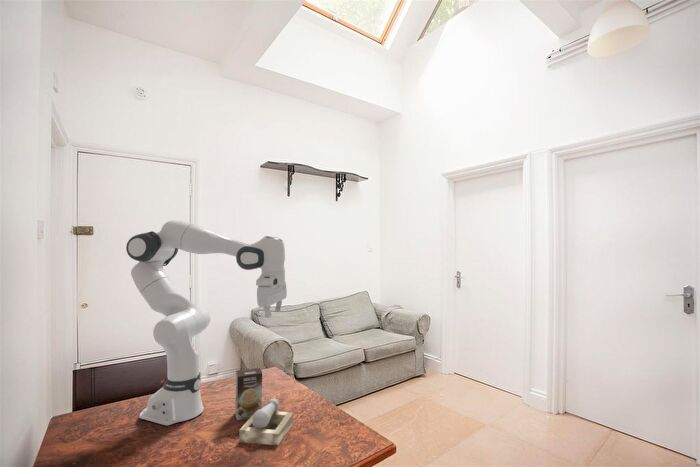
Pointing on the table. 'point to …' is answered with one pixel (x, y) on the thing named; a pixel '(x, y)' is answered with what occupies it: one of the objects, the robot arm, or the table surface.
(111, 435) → the table surface
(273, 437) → the socket block
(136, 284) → the robot arm
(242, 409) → the coffee box
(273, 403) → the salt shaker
